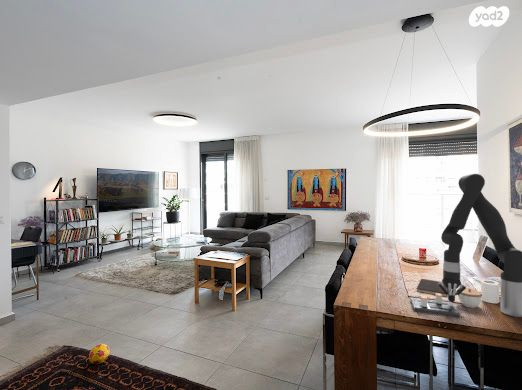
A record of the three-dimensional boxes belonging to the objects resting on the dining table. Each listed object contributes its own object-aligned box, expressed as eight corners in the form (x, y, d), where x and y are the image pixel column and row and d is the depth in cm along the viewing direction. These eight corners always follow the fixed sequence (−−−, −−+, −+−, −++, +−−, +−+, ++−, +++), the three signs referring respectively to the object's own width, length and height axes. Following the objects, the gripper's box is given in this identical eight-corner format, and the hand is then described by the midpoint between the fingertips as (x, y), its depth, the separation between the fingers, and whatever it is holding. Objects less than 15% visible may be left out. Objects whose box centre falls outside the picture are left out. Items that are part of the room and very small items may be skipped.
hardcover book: (416, 292, 172) (416, 288, 172) (421, 281, 191) (421, 278, 191) (447, 297, 163) (447, 293, 163) (449, 286, 181) (449, 283, 181)
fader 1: (426, 304, 146) (426, 296, 146) (427, 307, 143) (427, 298, 143) (420, 303, 147) (420, 295, 147) (421, 306, 144) (421, 298, 144)
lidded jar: (471, 301, 156) (471, 284, 156) (487, 309, 145) (487, 291, 145) (452, 301, 156) (452, 285, 155) (467, 310, 145) (467, 292, 145)
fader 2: (440, 301, 150) (440, 293, 150) (442, 303, 147) (442, 295, 147) (435, 300, 151) (435, 293, 151) (436, 303, 148) (436, 295, 148)
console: (452, 305, 150) (452, 301, 150) (459, 317, 137) (459, 312, 137) (410, 300, 158) (410, 296, 158) (414, 311, 145) (414, 306, 145)
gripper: (464, 269, 147) (464, 301, 148) (435, 266, 152) (435, 297, 153) (468, 273, 140) (468, 306, 141) (438, 270, 145) (438, 302, 146)
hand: (451, 301), depth 147 cm, fingers closed
